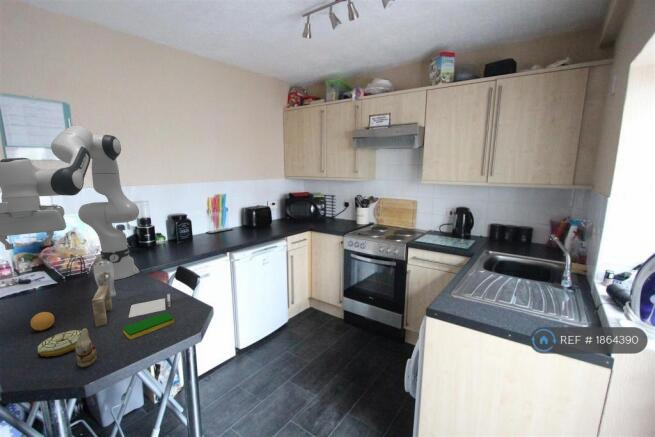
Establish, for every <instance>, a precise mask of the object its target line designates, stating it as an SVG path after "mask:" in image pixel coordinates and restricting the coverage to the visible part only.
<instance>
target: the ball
mask: <svg viewBox="0 0 655 437" xmlns="http://www.w3.org/2000/svg"><path fill="white" fill-rule="evenodd" d="M54 323H55V316H54V315H53V313H51V312H49V311H48V312H47V311H42V312H38V313H37V314H35V315H33V317H32V318H31V319H30V326H31V328H32V329H33V330H35V331H45V330H47V329H49V328H50V327H52V326H53V325H54Z"/></svg>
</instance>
